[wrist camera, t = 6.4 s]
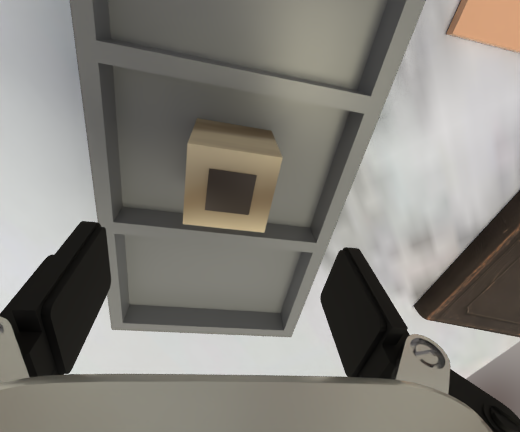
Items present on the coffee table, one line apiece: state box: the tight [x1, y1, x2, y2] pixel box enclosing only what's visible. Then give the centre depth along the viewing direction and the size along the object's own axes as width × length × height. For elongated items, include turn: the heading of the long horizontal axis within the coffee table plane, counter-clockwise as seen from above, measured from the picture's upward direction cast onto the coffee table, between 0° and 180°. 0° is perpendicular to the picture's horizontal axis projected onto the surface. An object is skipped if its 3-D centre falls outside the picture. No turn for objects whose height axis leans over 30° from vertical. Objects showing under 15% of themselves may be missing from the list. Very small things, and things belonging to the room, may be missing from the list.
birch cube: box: [183, 118, 283, 233], centre depth 18 cm, size 5×5×5 cm
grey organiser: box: [70, 0, 426, 337], centre depth 20 cm, size 34×17×2 cm, turn 169°
